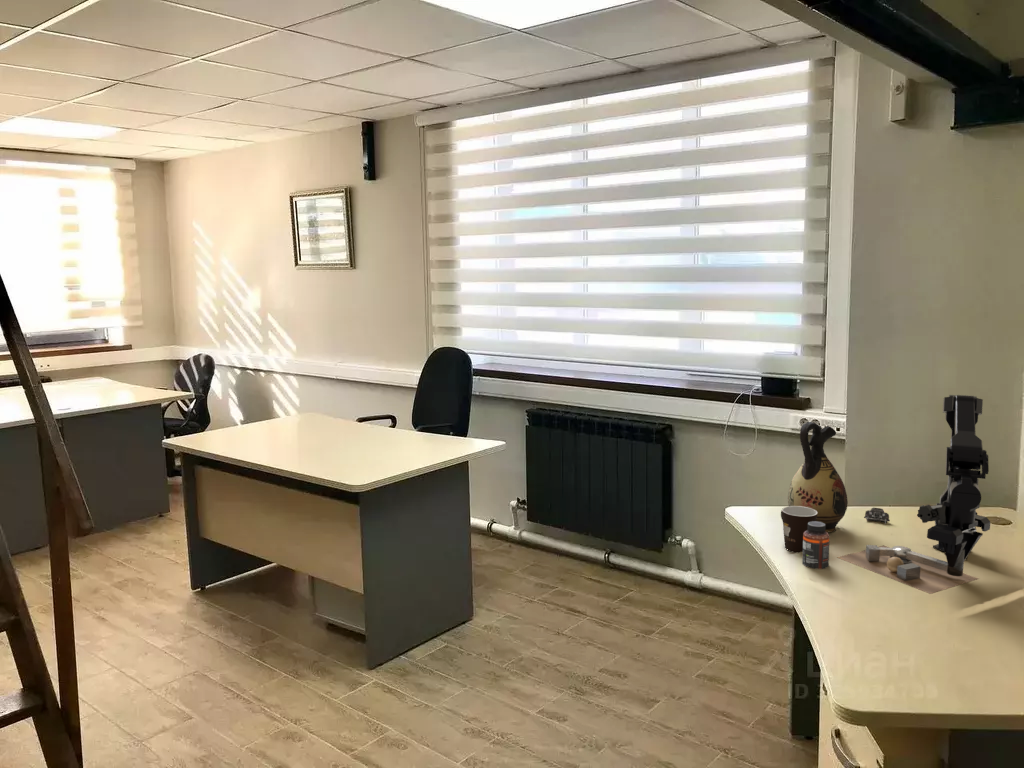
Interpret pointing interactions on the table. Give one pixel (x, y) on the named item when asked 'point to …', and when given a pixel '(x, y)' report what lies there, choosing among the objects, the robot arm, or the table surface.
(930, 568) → the board
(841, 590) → the table surface
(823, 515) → the ceramic jug
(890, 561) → the tan ball
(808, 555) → the supplement bottle
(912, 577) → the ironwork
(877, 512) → the car cutout
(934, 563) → the lever
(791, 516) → the coffee mug
